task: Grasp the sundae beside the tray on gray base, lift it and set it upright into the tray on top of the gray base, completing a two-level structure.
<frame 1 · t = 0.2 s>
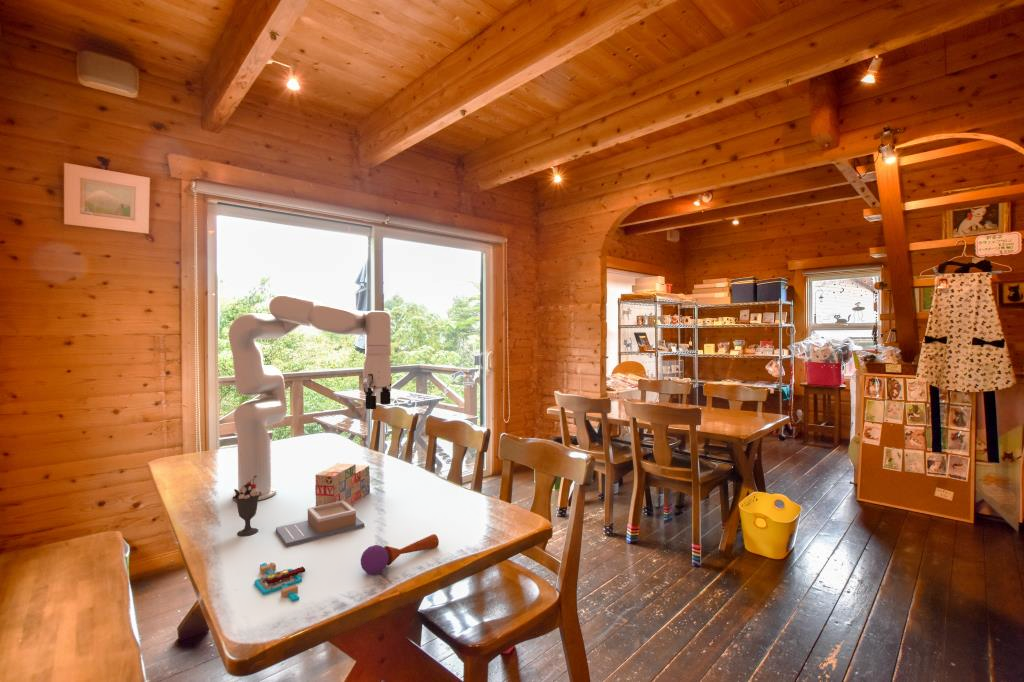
hand: (378, 406, 147), 31 cm above the table, tool pointing down, fingers open, 9 cm apart
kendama: (401, 562, 113), on the table
tray on gray base: (320, 529, 130), on the table
gear mechanism: (282, 584, 103), on the table
sundae: (248, 532, 128), on the table
stack of blocks: (344, 504, 151), on the table
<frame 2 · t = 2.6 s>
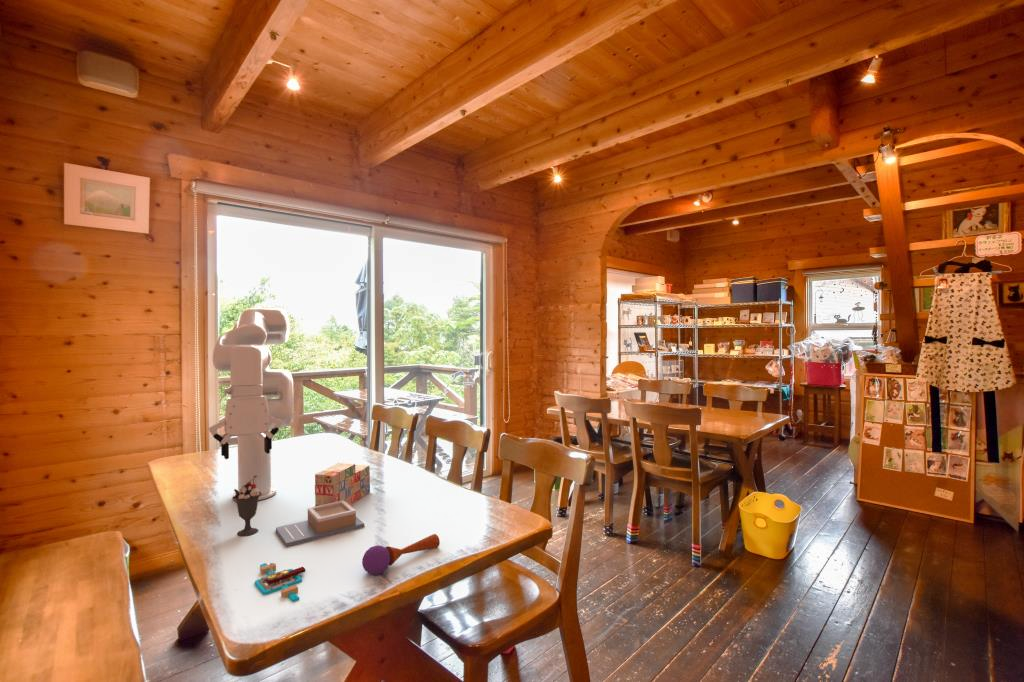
hand: (247, 455, 128), 21 cm above the table, tool pointing down, fingers open, 9 cm apart
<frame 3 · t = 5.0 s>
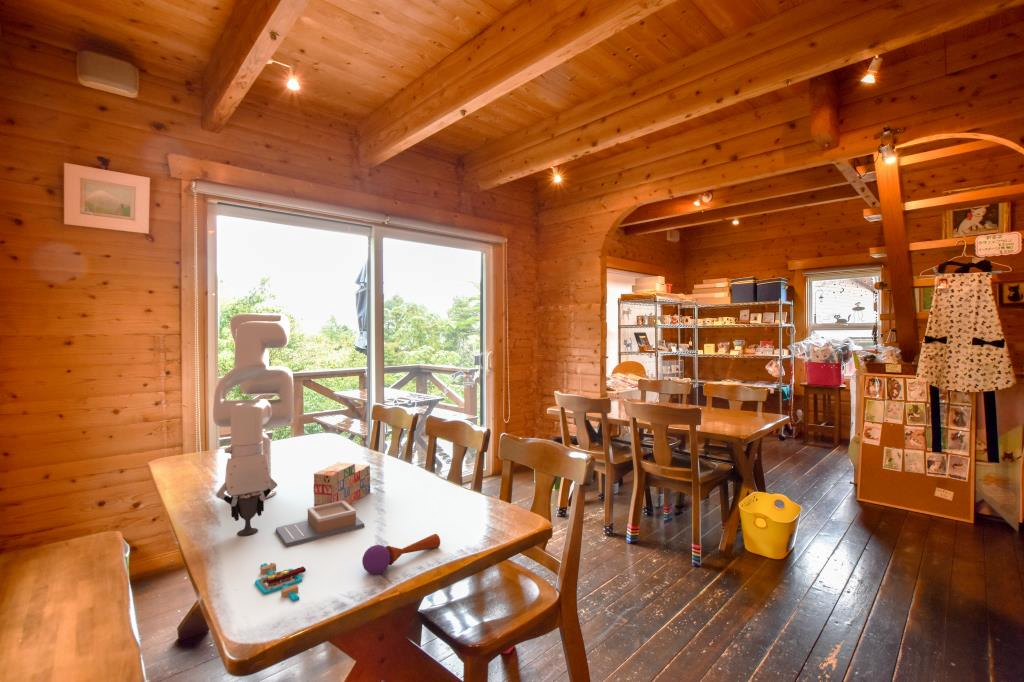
hand: (247, 516, 128), 4 cm above the table, tool pointing down, fingers closed on sundae, 4 cm apart
sundae: (247, 532, 128), on the table, touching gripper
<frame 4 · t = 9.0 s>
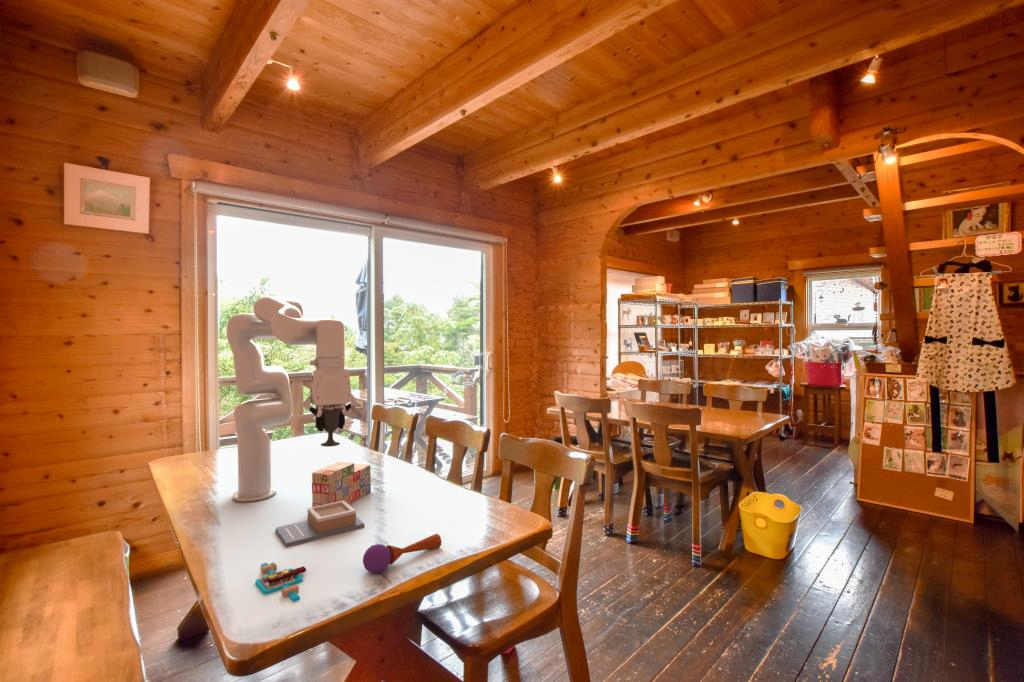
hand: (330, 428, 132), 27 cm above the table, tool pointing down, fingers closed on sundae, 4 cm apart
sundae: (330, 445, 132), point 23 cm above the table, touching gripper
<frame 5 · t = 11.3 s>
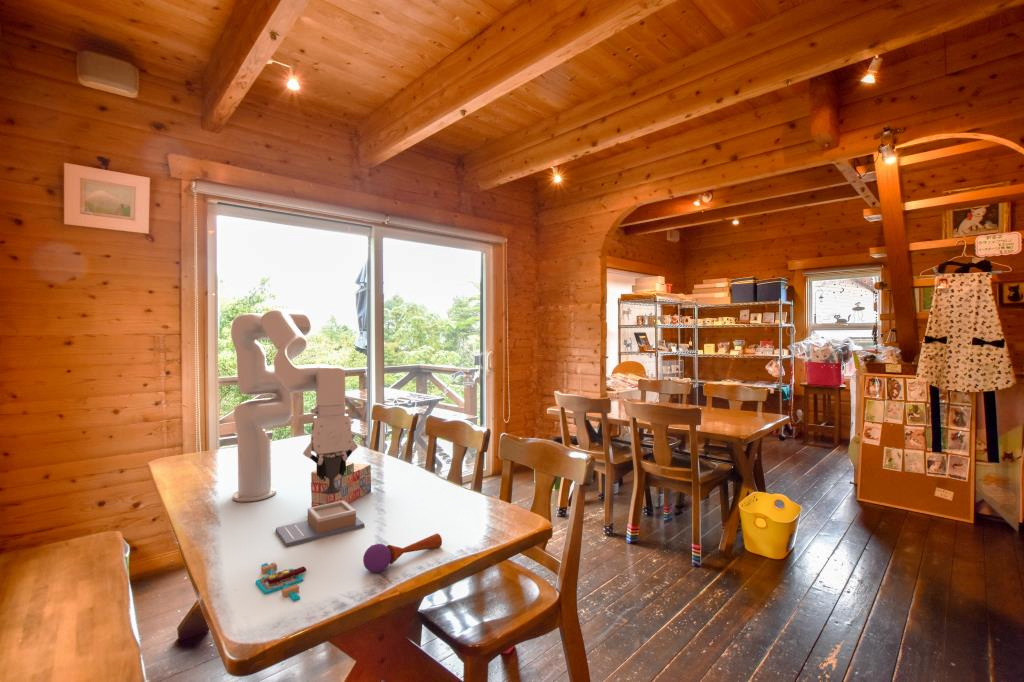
hand: (331, 475, 132), 14 cm above the table, tool pointing down, fingers closed on sundae, 4 cm apart
sundae: (331, 491, 132), point 10 cm above the table, touching gripper
when the fingers open (10 cm above the table, at t = 13.0 s): sundae drops 2 cm, resting on tray on gray base.
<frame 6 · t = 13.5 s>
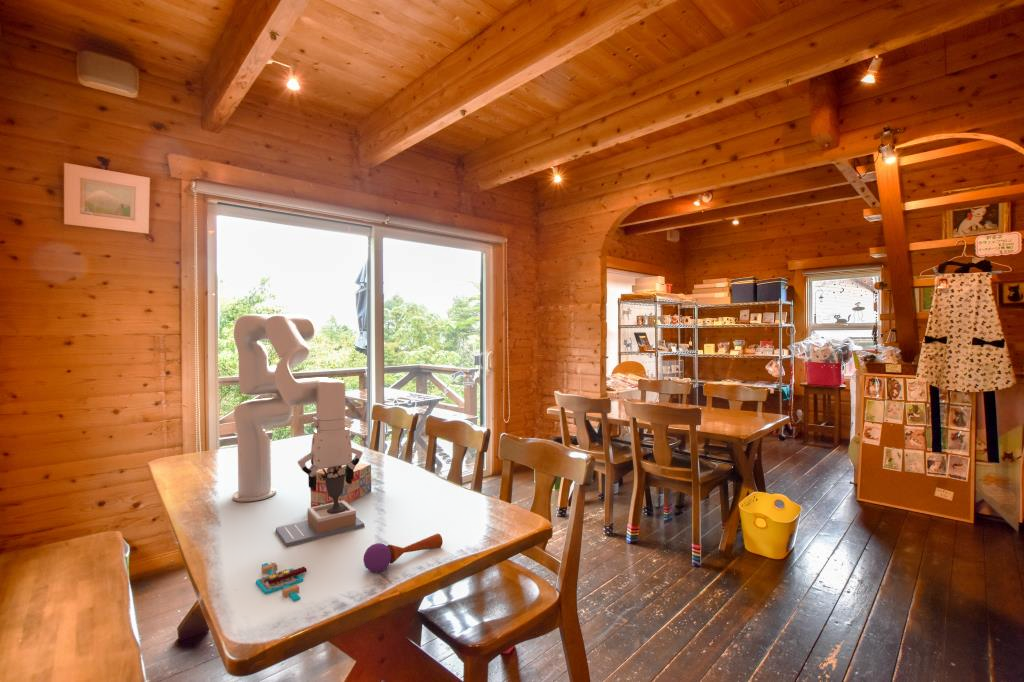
hand: (331, 486, 132), 11 cm above the table, tool pointing down, fingers open, 9 cm apart
sundae: (336, 510, 134), point 4 cm above the table, touching tray on gray base, gripper
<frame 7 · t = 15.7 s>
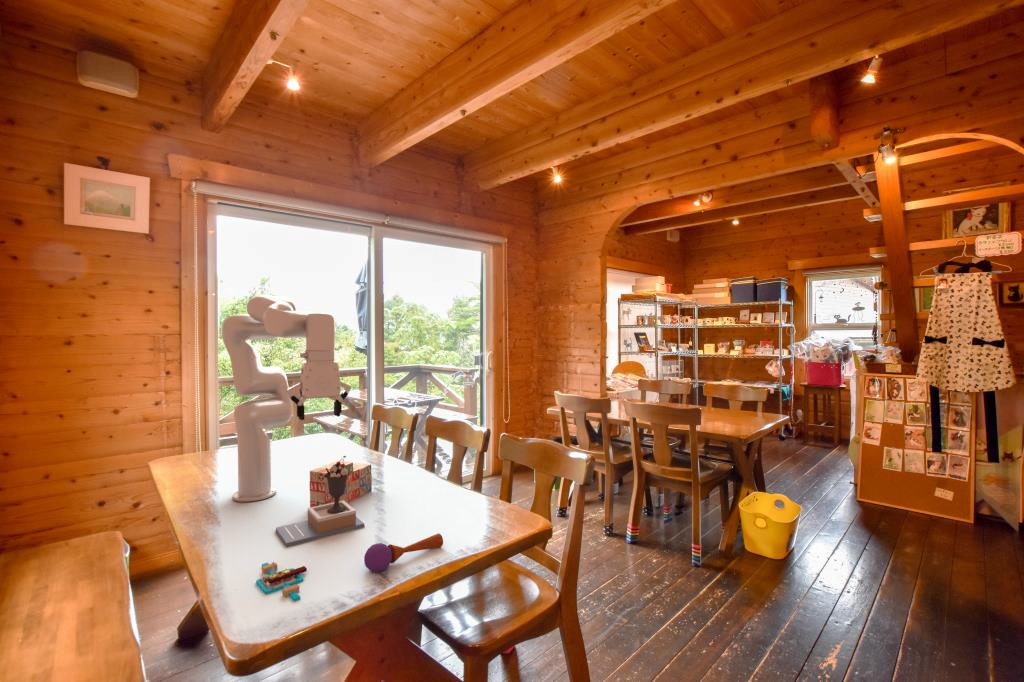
hand: (319, 417, 134), 30 cm above the table, tool pointing down, fingers open, 9 cm apart
sundae: (336, 510, 134), point 4 cm above the table, touching tray on gray base
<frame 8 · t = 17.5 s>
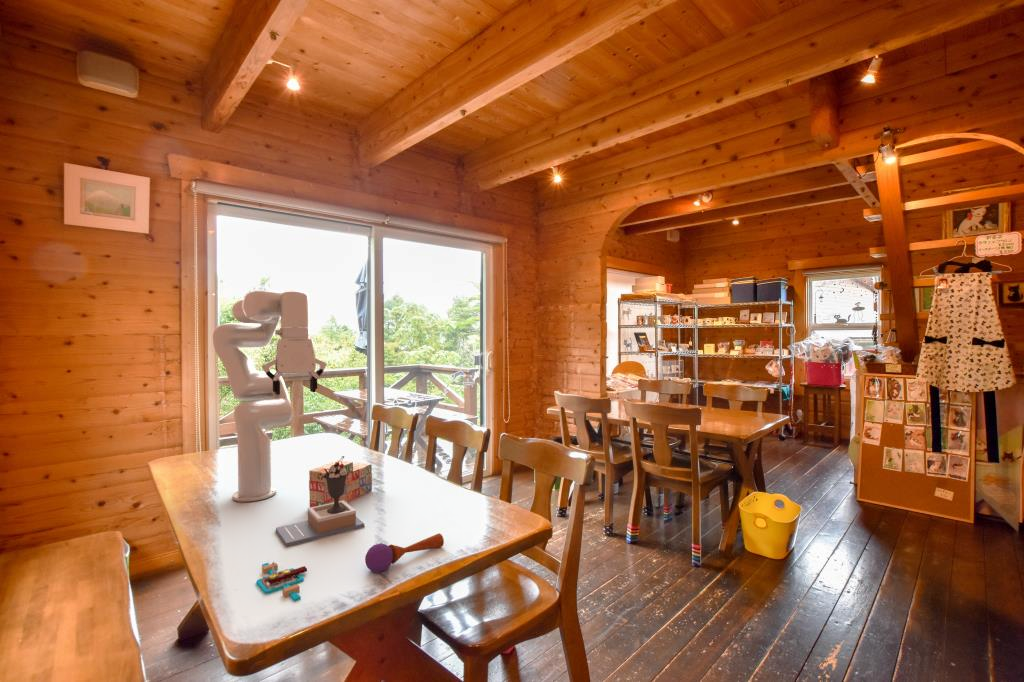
hand: (295, 393, 138), 36 cm above the table, tool pointing down, fingers open, 9 cm apart
at the end: sundae 1.6 cm from the target spot on the tray on gray base, point 3.8 cm above the tray on gray base's base; sundae tilted 1°; the gripper is holding nothing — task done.
